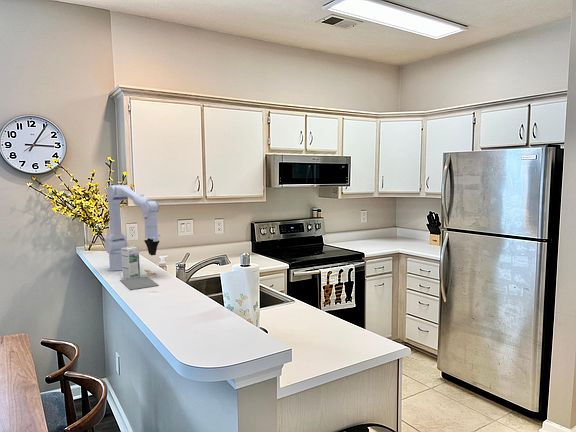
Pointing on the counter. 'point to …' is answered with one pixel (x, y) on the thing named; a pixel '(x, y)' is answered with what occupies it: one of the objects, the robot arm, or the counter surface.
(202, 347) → the counter surface
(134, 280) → the mat
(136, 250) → the syrup box
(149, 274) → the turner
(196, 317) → the counter surface
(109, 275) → the counter surface
